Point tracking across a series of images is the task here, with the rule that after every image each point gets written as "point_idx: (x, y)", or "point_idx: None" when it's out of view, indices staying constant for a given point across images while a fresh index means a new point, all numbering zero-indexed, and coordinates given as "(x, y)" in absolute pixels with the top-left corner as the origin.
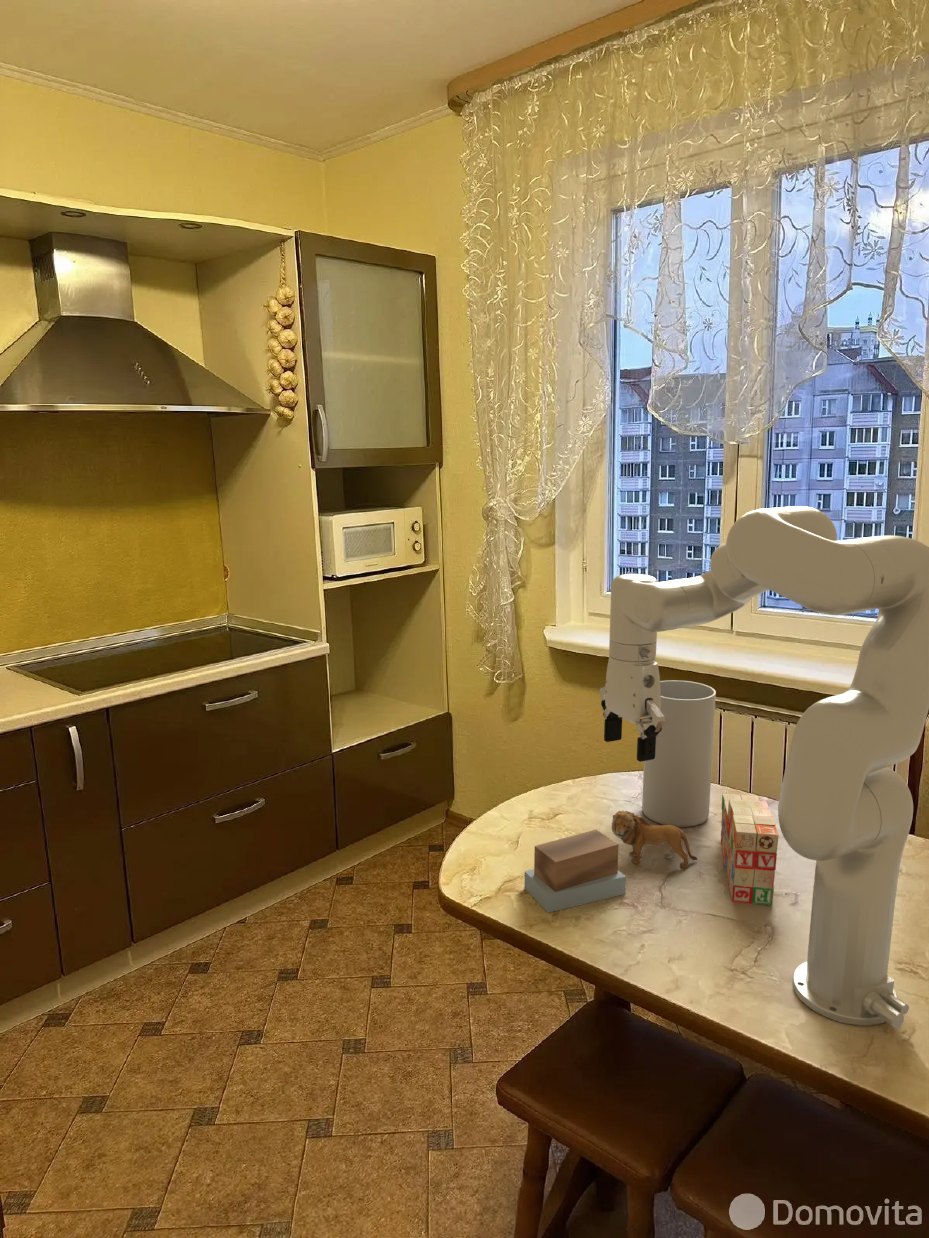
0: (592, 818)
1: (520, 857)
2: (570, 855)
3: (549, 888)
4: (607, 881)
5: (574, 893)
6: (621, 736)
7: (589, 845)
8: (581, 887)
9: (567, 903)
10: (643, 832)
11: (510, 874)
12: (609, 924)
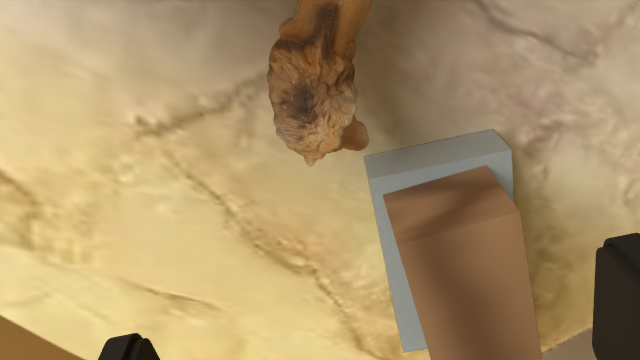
0: (17, 72)
1: (258, 305)
2: (526, 342)
3: None
4: (513, 201)
5: None
6: (136, 352)
7: (491, 288)
8: None
9: None
10: (351, 40)
11: (332, 334)
12: (597, 204)
